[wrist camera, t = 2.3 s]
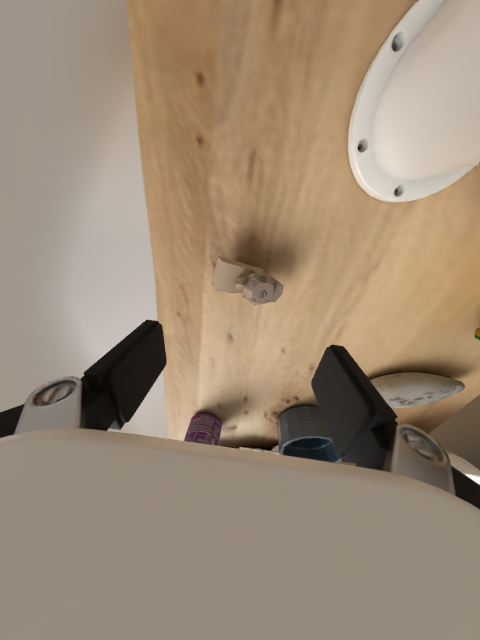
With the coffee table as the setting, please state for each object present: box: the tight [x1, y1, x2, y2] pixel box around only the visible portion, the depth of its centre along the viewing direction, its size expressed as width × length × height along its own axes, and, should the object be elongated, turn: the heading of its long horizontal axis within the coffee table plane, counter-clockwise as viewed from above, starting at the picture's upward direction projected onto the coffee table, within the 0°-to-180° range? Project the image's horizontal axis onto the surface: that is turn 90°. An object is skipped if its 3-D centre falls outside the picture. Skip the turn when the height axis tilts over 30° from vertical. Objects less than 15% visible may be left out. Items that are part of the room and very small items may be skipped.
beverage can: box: [184, 414, 222, 446], centre depth 34 cm, size 7×7×12 cm
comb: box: [239, 447, 280, 455], centre depth 42 cm, size 15×2×10 cm
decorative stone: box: [370, 372, 465, 408], centre depth 28 cm, size 6×16×3 cm, turn 104°
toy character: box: [211, 256, 283, 305], centre depth 21 cm, size 4×8×6 cm, turn 71°
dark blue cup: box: [276, 406, 342, 463], centre depth 34 cm, size 12×12×6 cm
